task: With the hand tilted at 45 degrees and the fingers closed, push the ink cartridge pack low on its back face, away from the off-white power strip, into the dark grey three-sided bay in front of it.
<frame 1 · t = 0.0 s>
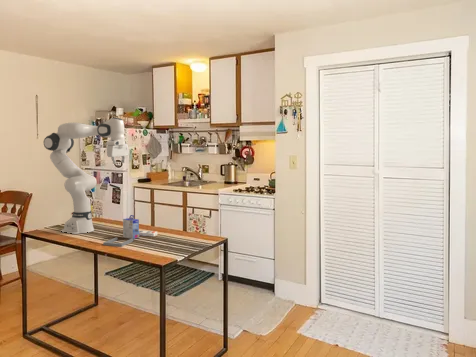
hand: (118, 163, 256), 48 cm above the table, tool pointing down, fingers open, 8 cm apart
ink cartridge box: (131, 237, 252), on the table
power strip: (140, 234, 259), on the table
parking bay: (119, 242, 239), on the table
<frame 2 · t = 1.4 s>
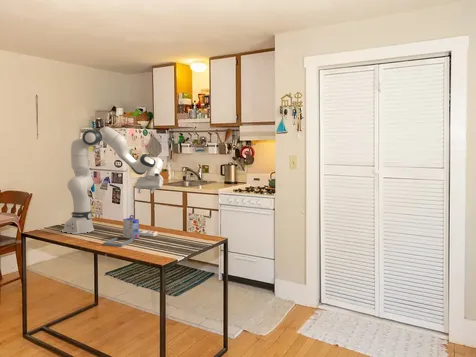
hand: (145, 192, 267), 27 cm above the table, tool tilted 45°, fingers open, 8 cm apart
nothing on the table moved.
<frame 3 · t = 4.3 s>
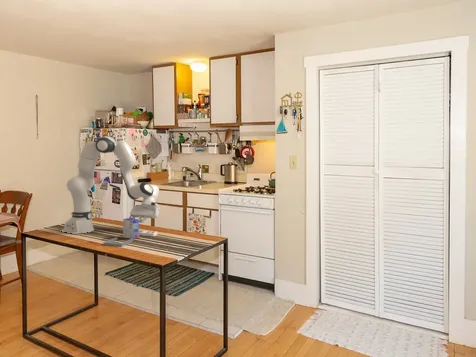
hand: (140, 222, 262), 8 cm above the table, tool tilted 45°, fingers closed
nothing on the table moved.
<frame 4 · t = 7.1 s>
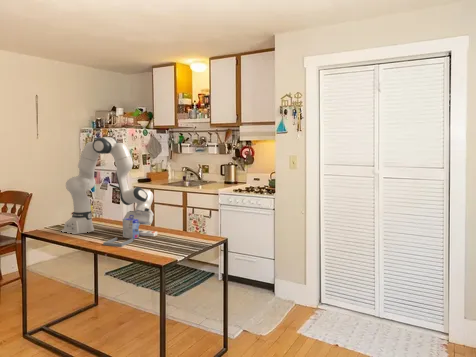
hand: (133, 228, 255), 5 cm above the table, tool tilted 45°, fingers closed
ink cartridge box: (131, 237, 252), on the table, touching gripper
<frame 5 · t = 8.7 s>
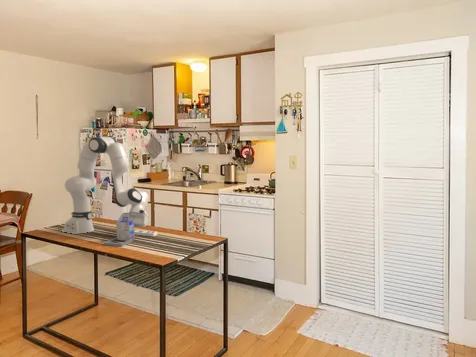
hand: (128, 231, 248), 5 cm above the table, tool tilted 45°, fingers closed, pressing on ink cartridge box
ink cartridge box: (126, 239, 246), on the table, touching gripper
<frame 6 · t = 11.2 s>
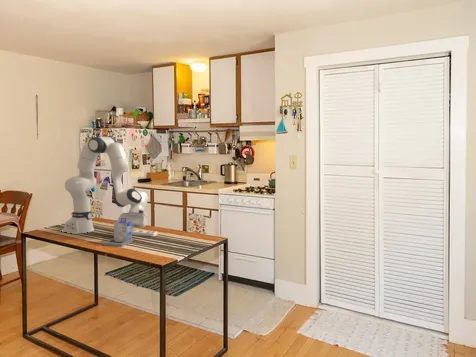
hand: (127, 231, 247), 5 cm above the table, tool tilted 45°, fingers closed
ink cartridge box: (123, 241, 243), on the table
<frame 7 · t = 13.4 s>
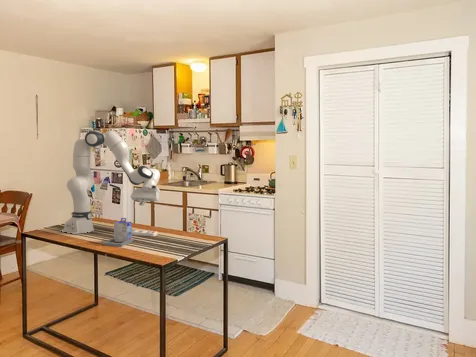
hand: (141, 204, 263), 19 cm above the table, tool tilted 45°, fingers closed
nothing on the table moved.
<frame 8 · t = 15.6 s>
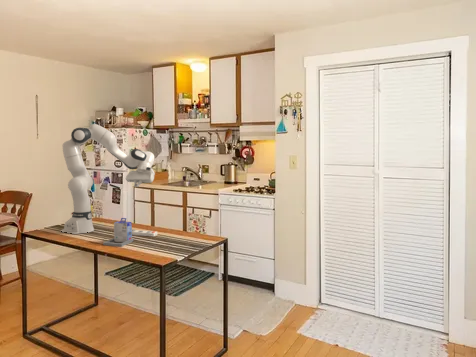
hand: (136, 186, 267), 31 cm above the table, tool tilted 45°, fingers closed
nothing on the table moved.
at the end: ink cartridge box inside the target area (2.7 cm from its centre), on the table; ink cartridge box tilted 0°; ink cartridge box moved 9.3 cm from its start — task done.
